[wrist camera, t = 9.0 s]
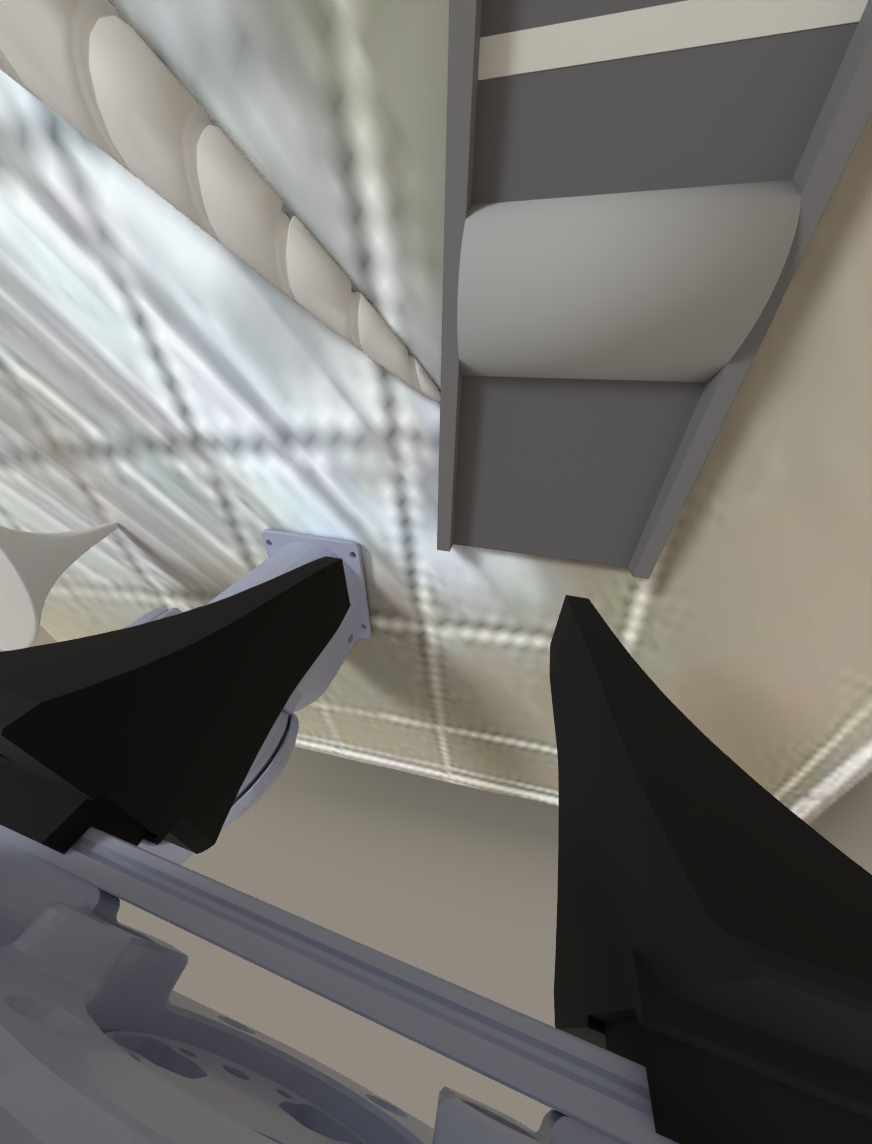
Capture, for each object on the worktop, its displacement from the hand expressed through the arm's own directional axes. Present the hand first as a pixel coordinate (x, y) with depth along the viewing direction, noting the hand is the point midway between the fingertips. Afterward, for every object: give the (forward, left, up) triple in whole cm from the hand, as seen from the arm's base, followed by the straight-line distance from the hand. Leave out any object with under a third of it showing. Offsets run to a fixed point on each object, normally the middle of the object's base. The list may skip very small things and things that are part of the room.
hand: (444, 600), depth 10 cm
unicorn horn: (+13, +12, -11) cm, 21 cm away
